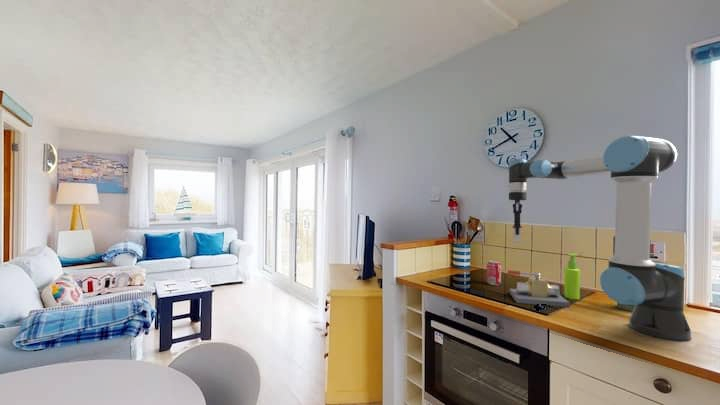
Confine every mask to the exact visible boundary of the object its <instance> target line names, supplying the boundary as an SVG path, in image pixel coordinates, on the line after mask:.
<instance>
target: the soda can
mask: <svg viewBox="0 0 720 405" xmlns="http://www.w3.org/2000/svg"><path fill="white" fill-rule="evenodd" d="M486 283H487V284H489V285H490V286H499V285H501V283H502V265H501V262H500V261H498V260H488V261H487V263H486Z"/></svg>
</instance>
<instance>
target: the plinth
mask: <svg viewBox="0 0 720 405" xmlns="http://www.w3.org/2000/svg"><path fill="white" fill-rule="evenodd" d="M509 294H510V295H511V297H512V298H513V299H514V301H515V302H516V303H517V304H526V305H527V304H528V305H537V304H547V305H546V306H548V305H550V306H551V307H561V308H570V306H571V304H570V303H571V302H569V300H567V299H566V298H565V297H563V295H561V294H560V295H559V297H553V296H550V297H547V298H546V297H534V296H529V295H527V294H518V293H517V288H509Z"/></svg>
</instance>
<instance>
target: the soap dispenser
mask: <svg viewBox="0 0 720 405" xmlns="http://www.w3.org/2000/svg"><path fill="white" fill-rule="evenodd" d="M567 255H568V256H569V260H567V267H564V277H563V278H564V279H563V280H564V282H563V283H564V284H563V286H564V287H563V289H564V291H563V292H564V293H563V294H564V295H563V296H564V297H563V298H565V299H566V298H567V299H571V300H580V298H581V294H580V293H581V292H580V290H581V269H579V268H578V265H577V264H578V262H577V261H576V259H575V257H576V256H577V257H583V255H582V254H579V253H568V254H567Z"/></svg>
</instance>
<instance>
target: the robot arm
mask: <svg viewBox="0 0 720 405" xmlns="http://www.w3.org/2000/svg"><path fill="white" fill-rule="evenodd" d="M677 157H678V152H677V149H676V147H675V146H674V144H673V143H671V142H670V141H668V140H665V139H663V138H656V137H648V136H641V135H625V136H621V137H618V138H617V139H615V140H612V142H611V143H609V145H608V146H607V147H606V148H605V150H604V152H603V154H601V155H595V156H587V157H582V158H576V159H570V160H562V161H549V160H547V159H536V160H531V161H527V159H526V158H513V159H510V160H509V164H508V185H507V188H508V200H509V201H514V203H512V208H513V211H512V213H513V214H514V215H513V216H514V217H513V218H514V221H513V222H514V224H513V226H512V228H513V242H515V243H521V229H522V228H523V226H521V213H522V208H523V204H522V203H521V201H526V200H527V190H528V188H527V185H528V184H527V180H528V179H554V180H555V179H556V180H566V179H568V178H579V177H586V176H596V175H607V174H610V180H611V181H612V182H614V183H615V184H616V187H615V188H616V189H615V221H614V222H615V224H614V225H615V228H614V230H615V231H614V236H615V254H614V256H613V255H612V256H611V257H610V258H608V266H607V267H608V268H606V269H605V270H604V271H603V272H602V273H601V274H600V277H599V283H600V287H601V289H602V290H603V292H604V294H606V295H607V297H608V298H609V299H610V300H612V301H614V302H615V303H617V302H618V303H620V304H626V305H628V304H630V305H635V308H634V310H633V312H632V313H631V315H630V316H629V319H628V325H629V327H630V328H631V329H633V330H635V331H637V332H640V333H642V334H645V335H649V336H652V337H656V338H659V339H660V338H661V339H665V340H666V339H667V340H673V341H688V340H691V339H692V330H691V328H690V325H689V324H688V320H687V319H686V316H685V313H684V312H685V311H684V303H685V302H684V301H685V299H684V298H685V294H684V293H685V279H686V278H685V275H684V269H683V268H682V267H680V266H678V265H672V264H665V263H659V262H658V263H657V262H654V261H652V259H651V257H650V258H649V252H650V253H651V246H650V240H651V215H652V214H651V212H652V211H651V207H652V206H651V205H652V204H651V203H652V183H653V182H654V181H656V180H657V179H659V173H662V172H665V171H666V170H668V169H670V168H671V167H672V166H673V165H674V164H675V162H676V160H677Z"/></svg>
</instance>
